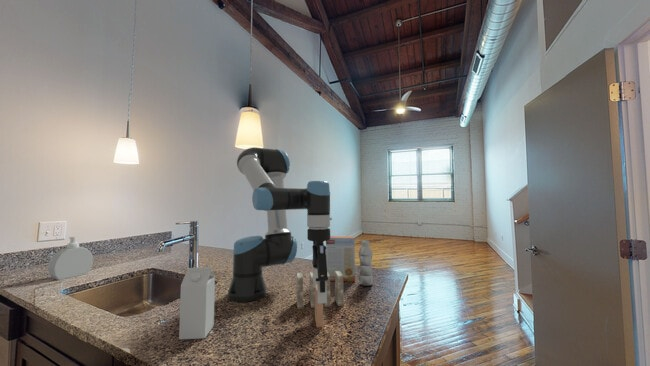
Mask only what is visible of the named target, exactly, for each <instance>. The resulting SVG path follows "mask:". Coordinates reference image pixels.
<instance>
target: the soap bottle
mask: <svg viewBox="0 0 650 366" xmlns="http://www.w3.org/2000/svg"><path fill="white" fill-rule="evenodd" d="M68 239H69V240H70V242H69V243H67V244H66V248H65V247H64V248H61V249H60V250H59V251H57V252H56V253H54V255H53V256H52V258H51V259H50V261H49V263H48V266H47V268H48V274H49V276H50V277H51V278H52V279H53V280H57V281H62V280H67V279H70V278H74V277H75V278H76V277H78V276H83V275H87V274H88V273H89V272H90V271H91V269H92V266H93V263H94V257H93V256H94V255H93V254H92V252H91V251H90V250H89V249H87V248H86V247H84V246H80V243H79V242H78V241H77V236H69V237H68Z"/></svg>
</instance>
